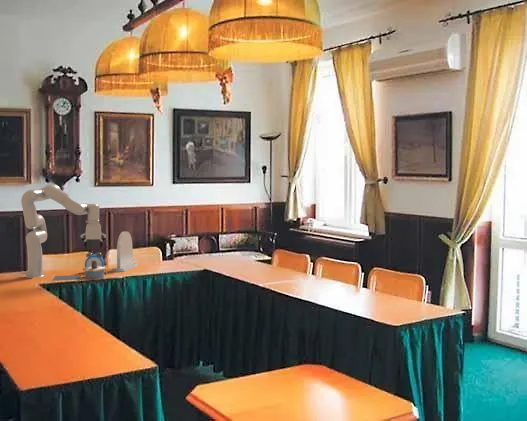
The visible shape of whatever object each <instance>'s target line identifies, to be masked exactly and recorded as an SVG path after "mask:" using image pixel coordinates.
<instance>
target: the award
mask: <svg viewBox="0 0 527 421" xmlns="http://www.w3.org/2000/svg"><path fill="white" fill-rule="evenodd" d="M133 251H134V250H133V239H132V235H131V233H130V232H129V231H121V232H120V234H119V236H118V238H117V244H116V267H113V268H112V272H117V273H118V272H119V273H124V271H125V272H127V271H129V270H132V269H134V268H136V267H138V266H139V262H133V259H134V258H133ZM133 267H134V268H133ZM131 268H132V269H131Z"/></svg>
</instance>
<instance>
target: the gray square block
mask: <svg viewBox="0 0 527 421" xmlns="http://www.w3.org/2000/svg"><path fill="white" fill-rule="evenodd" d="M84 277H85V278H86V279H92V280H93V279H100V280H102V279H104V278H105V270H103V271H84Z"/></svg>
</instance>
